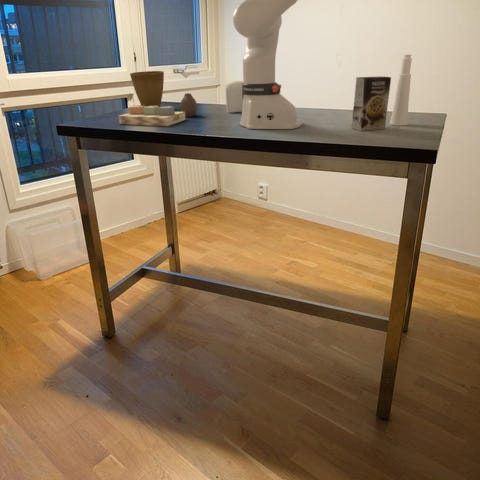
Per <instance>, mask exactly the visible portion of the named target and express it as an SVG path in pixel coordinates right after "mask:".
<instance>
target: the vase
mask: <svg viewBox="0 0 480 480" xmlns="http://www.w3.org/2000/svg"><path fill="white" fill-rule="evenodd" d="M180 112H185V118H186V117H189V118H190V117H194V116H196V114H197V112H198V104H197V101H196V99H195V98H194V97H193V95H192V93H187V92H186V93H184V96H183V97H182V99H181V100H180Z"/></svg>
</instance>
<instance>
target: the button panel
mask: <svg viewBox="0 0 480 480" xmlns="http://www.w3.org/2000/svg"><path fill="white" fill-rule="evenodd" d="M174 112H175V114H173V115H170V116H165V115H159V114H156V115H144V113H143V114H140V115H139V114H130V112H128V113H124V114H120V115H118V122H119V124H120V125H133V126H134V125H138V126H154V127H157V126H158V127H169V126H171V125H174V124H177V123H180V122H183V121H185V120H186V116H185V112H181V111H174Z"/></svg>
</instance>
